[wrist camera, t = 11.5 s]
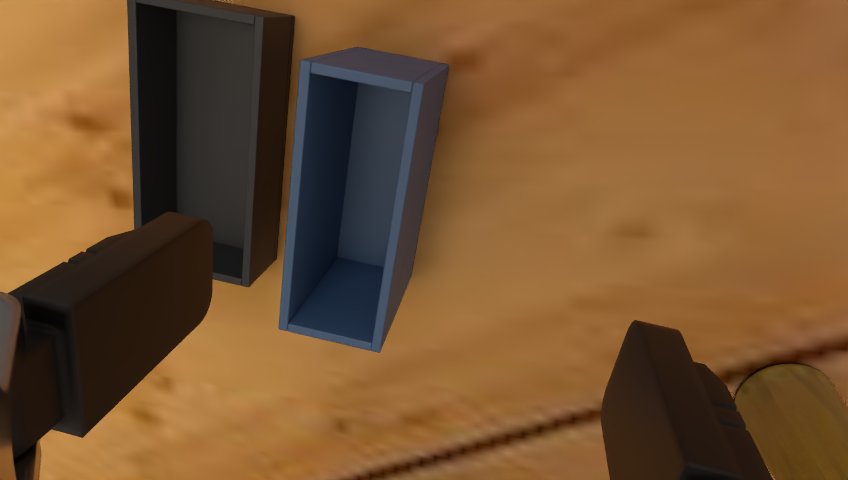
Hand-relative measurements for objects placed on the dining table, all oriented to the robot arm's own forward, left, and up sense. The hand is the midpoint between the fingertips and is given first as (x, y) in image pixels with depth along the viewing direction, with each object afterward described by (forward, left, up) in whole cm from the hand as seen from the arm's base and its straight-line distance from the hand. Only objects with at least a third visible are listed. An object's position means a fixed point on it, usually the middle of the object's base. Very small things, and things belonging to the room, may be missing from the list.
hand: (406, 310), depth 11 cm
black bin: (+5, -16, -25) cm, 30 cm away
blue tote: (+5, -5, -25) cm, 26 cm away
